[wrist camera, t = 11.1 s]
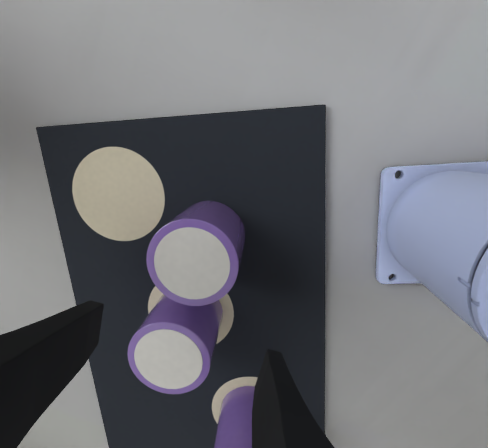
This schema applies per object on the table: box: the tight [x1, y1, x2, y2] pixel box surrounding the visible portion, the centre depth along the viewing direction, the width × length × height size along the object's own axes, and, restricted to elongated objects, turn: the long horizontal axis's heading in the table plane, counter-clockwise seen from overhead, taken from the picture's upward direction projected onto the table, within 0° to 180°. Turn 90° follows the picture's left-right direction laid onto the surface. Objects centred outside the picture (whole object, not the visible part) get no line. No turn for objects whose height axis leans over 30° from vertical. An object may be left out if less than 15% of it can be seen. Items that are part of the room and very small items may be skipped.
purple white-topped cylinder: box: [128, 294, 223, 394], centre depth 20 cm, size 5×5×5 cm
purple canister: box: [213, 386, 255, 448], centre depth 22 cm, size 5×5×5 cm
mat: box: [36, 105, 326, 448], centre depth 23 cm, size 19×28×1 cm
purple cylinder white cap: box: [146, 201, 245, 306], centre depth 18 cm, size 5×5×5 cm
